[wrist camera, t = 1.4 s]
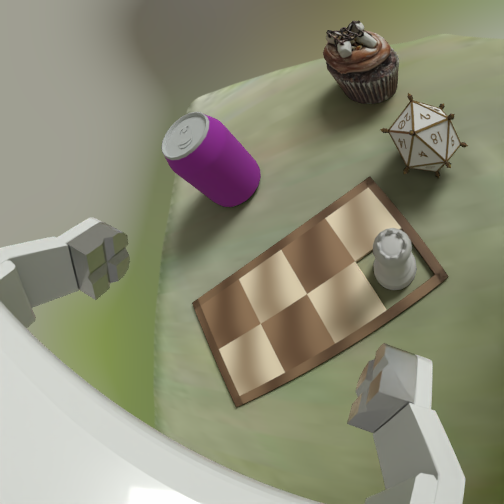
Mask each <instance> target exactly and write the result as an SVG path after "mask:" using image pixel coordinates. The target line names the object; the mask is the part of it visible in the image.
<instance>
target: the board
mask: <svg viewBox="0 0 504 504" xmlns="http://www.w3.org/2000/svg"><path fill="white" fill-rule="evenodd" d="M389 228H396V229H400V230H402V231H403V232H405V233H406V234H407V235H408V237H409V239H410V240H411V243H412V244H413V246H414V247H415V248H416V250H417V251H418V252H419V254H420V255H421V256H422V258H423V259H424V261H425V262H426V263H427V265H428V266H429V268H430V269H431V271H432V272H433V274H434V276H433V277H431V278H430V279H429V280H427V281H426V282H425V283H424V284H422V285H421V286H420V287H418V288H417V289H416V290H414V291H413V292H411V293H410V294H409V295H407V296H406V297H405V298H403V299H402V300H400V301H399V302H398V303H396V304H395V305H393V306H392V307H391V308H389V309H388V310H386V308H385V307H384V305H383V303H382V302H381V300H380V299H379V297H378V295H377V294H376V292H375V291H374V289H373V288H372V286H371V285H370V283H369V282H368V280H367V278H366V277H365V275H364V274H363V272H362V271H361V269H360V268H359V266H358V265H357V263H356V262H357V261H359V260H360V259H362V258H363V257H365V256H366V255H367V254H369V253H370V252H372V251H373V243H374V240H375V238H376V237H377V235H378V234H379V233H380V232H382V231H384V230H385V229H389ZM447 278H448V275H447V274H446V272H445V271H444V269H443V268H442V266H441V265H440V264H439V262H438V261H437V259H436V258H435V257H434V255H433V254H432V252H431V251H430V250H429V248H428V247H427V246H426V244H425V243H424V242H423V240H422V239H421V238H420V236H419V235H418V234H417V232H416V231H415V230H414V229H413V227H412V226H411V225H410V223H409V222H408V221H407V220H406V218H405V217H404V216H403V215H402V213H401V212H400V211H399V210H398V209H397V207H396V206H395V205H394V204H393V203H392V201H391V200H390V199H389V198H388V197H387V195H386V194H385V193H384V192H383V191H382V190H381V188H380V187H379V186H378V185H377V184H376V183H375V182H374V180H373V179H372V178H371V177H368V178H367V179H365V180H364V181H363V182H361V183H360V184H359V185H357V186H356V187H354V188H353V189H352V190H350V191H349V192H347V193H346V194H345V195H343V196H342V197H340V198H339V199H338V200H336V201H335V202H333V203H332V204H331V205H329V206H328V207H326V208H325V209H324V210H322V211H321V212H320V213H318V214H317V215H315V216H314V217H313V218H311V219H310V220H308V221H307V222H306V223H304V224H303V225H301V226H300V227H299V228H297V229H296V230H294V231H293V232H292V233H290V234H289V235H287V236H286V237H284V238H283V239H282V240H280V241H279V242H277V243H276V244H275V245H273V246H272V247H270V248H269V249H268V250H266V251H265V252H263V253H262V254H261V255H259V256H258V257H256V258H255V259H254V260H252V261H251V262H249V263H248V264H246V265H245V266H244V267H242V268H241V269H239V270H238V271H237V272H235V273H234V274H232V275H231V276H230V277H228V278H227V279H225V280H224V281H222V282H221V283H220V284H218V285H217V286H215V287H214V288H213V289H211V290H210V291H208V292H207V293H205V294H204V295H203V296H201V297H200V298H198V299H197V300H195V301H194V302H193V303H192V304H193V306H194V309H195V312H196V314H197V317H198V319H199V322H200V324H201V327H202V329H203V332H204V334H205V337H206V339H207V341H208V344H209V346H210V349H211V351H212V353H213V356H214V358H215V360H216V363H217V365H218V367H219V370H220V372H221V374H222V377H223V379H224V381H225V383H226V386H227V388H228V390H229V392H230V395H231V397H232V399H233V401H234V403H235V405H236V407H239V406H241V405H243V404H245V403H247V402H249V401H251V400H253V399H256V398H258V397H260V396H262V395H264V394H266V393H268V392H270V391H272V390H274V389H276V388H278V387H280V386H282V385H283V384H285V383H287V382H289V381H291V380H293V379H295V378H297V377H298V376H300V375H302V374H304V373H306V372H308V371H309V370H311V369H313V368H315V367H317V366H318V365H320V364H322V363H323V362H325V361H327V360H329V359H330V358H332V357H334V356H335V355H337V354H339V353H340V352H342V351H344V350H345V349H347V348H349V347H350V346H352V345H353V344H355V343H357V342H358V341H360V340H361V339H363V338H365V337H366V336H368V335H369V334H371V333H372V332H374V331H375V330H377V329H378V328H380V327H381V326H383V325H384V324H386V323H387V322H389V321H390V320H392V319H393V318H394V317H396V316H397V315H399V314H400V313H402V312H403V311H404V310H406V309H407V308H409V307H410V306H411V305H413V304H414V303H416V302H417V301H418V300H420V299H421V298H422V297H424V296H425V295H426V294H428V293H429V292H430V291H432V290H433V289H434V288H435V287H437V286H438V285H439V284H441V283H442V282H443V281H444V280H446V279H447Z"/></svg>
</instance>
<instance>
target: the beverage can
mask: <svg viewBox="0 0 504 504" xmlns="http://www.w3.org/2000/svg"><path fill="white" fill-rule="evenodd" d="M162 152H163V154H164V156H165V158H166V159H167V162H168V163H169V166H170V167H171V168H172V170H173V171H174V172H175V173H176V174H178V175H179V176H180V177H182V178H183V179H184V180H186V181H187V182H188V183H190V184H191V185H192V186H194V187H195V188H196V189H198V190H199V191H200V192H202V193H203V194H204V195H206V196H207V197H208V198H210V199H211V200H212V201H213V202H215V203H217V204H219V205H221V206H223V207H233V206H236V205H239V204H241V203H243V202H244V201H246V200H247V199H248V198H249V197H250V196H251V195H252V194H253V193H254V192H255V190H256V188H257V187H258V185H259V181H260V169H259V166H258V164H257V163H256V161H255V160H254V159H253V157H252V156H251V155H250V154H249V153H248V152H247V151H246V149H245V148H244V147H243V146H242V145H241V144H240V143H239V142H238V140H237V139H236V138H235V137H234V136H233V135H232V134H231V133H230V132H229V130H228V129H227V128H226V127H225V126H224V125H223V124H222V123H221V122H220V121H218V120H217V119H215V118H212V117H210V116H207V115H205V114H203V113H201V112H192V113H189V114H186V115H185V116H183V117H181V118H180V119H178V120H177V121H176V122H175V123H174V124H173V125H172V126H171V127H170V128H169V130H168V131H167V133H166V134H165V136H164V139H163V141H162Z"/></svg>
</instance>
